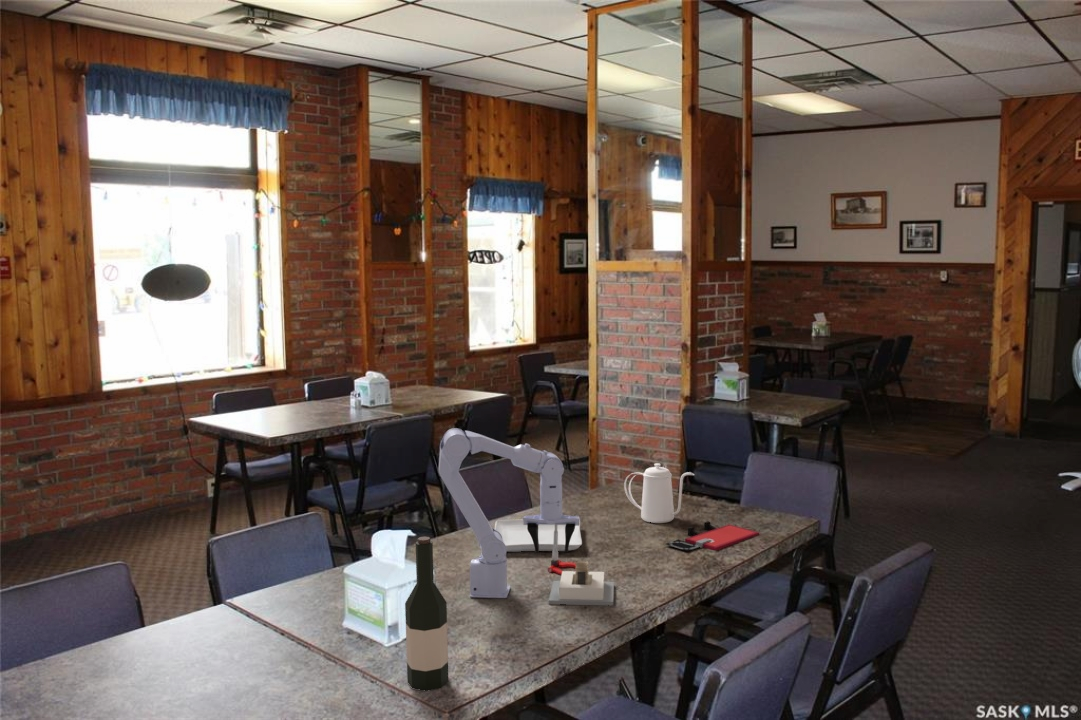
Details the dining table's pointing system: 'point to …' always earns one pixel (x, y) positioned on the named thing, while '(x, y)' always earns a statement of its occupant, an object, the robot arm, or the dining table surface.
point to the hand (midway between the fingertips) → (551, 551)
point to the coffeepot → (657, 494)
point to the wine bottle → (426, 626)
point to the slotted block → (582, 590)
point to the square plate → (521, 540)
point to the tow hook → (555, 561)
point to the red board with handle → (713, 537)
